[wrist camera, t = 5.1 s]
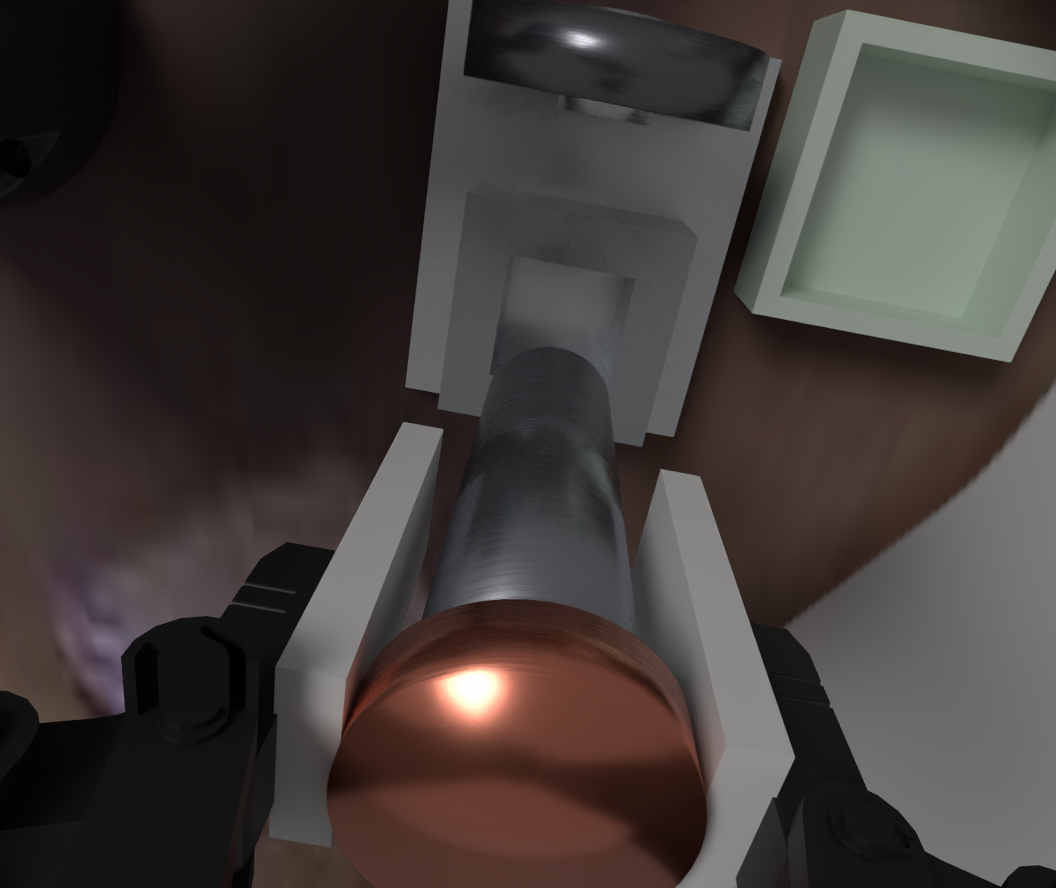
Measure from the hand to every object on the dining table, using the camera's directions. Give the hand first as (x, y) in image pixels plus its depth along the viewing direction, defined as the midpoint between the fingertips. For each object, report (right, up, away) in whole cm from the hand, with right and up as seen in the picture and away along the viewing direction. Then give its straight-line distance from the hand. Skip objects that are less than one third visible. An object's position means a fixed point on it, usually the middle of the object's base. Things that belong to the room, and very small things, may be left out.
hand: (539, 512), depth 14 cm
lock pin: (0, +2, +5) cm, 5 cm away
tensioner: (+2, +10, +16) cm, 19 cm away
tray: (+14, +11, +15) cm, 23 cm away
